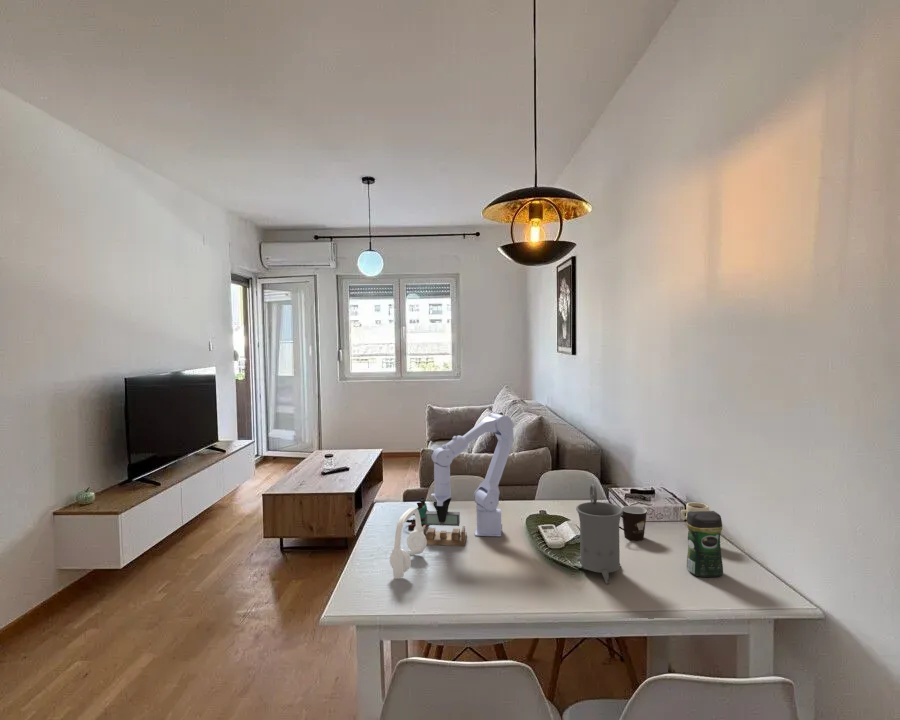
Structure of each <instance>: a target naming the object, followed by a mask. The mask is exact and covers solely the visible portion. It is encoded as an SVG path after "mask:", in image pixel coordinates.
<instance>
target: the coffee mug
mask: <svg viewBox="0 0 900 720" xmlns="http://www.w3.org/2000/svg"><path fill="white" fill-rule="evenodd" d="M620 508H621V509H622V510H623V513H622V515H621V517H620V518H622V526H623V527H622V526H620V525H619V530H620V529H621V530H622V531H623V535H624V538H625V539H626V540H629V541H633V542H639V541H640V542H641V541H643V540H644V538H645V531H646V524H647V523H646V522H647V514H648V510H647V509H646V508H644V507H641V506H637V505H627V506H622V507H620Z"/></svg>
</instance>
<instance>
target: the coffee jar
mask: <svg viewBox="0 0 900 720" xmlns="http://www.w3.org/2000/svg"><path fill="white" fill-rule="evenodd" d="M686 527H687V529H688V531H689V540H688V548H687V555H686V569H687V571H688V572H690V574H691V575H694V576H695V577H696V576H697V577H701V578H703V577H704V578H713V577H714V578H715V577H721V576H722V575H724V564H723V558H722V557H723V556H722V548H721V533H722V531H723V522H722V516H721V515H720V514H719V513H718V512H717V511H715V510H709V511H689V512H688V513H687V520H686Z"/></svg>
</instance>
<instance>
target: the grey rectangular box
mask: <svg viewBox="0 0 900 720" xmlns="http://www.w3.org/2000/svg"><path fill="white" fill-rule="evenodd" d="M425 522H426V525H428V526H443V527H444V526H445V527H446V526H448V527H451V526H452V527H460V523H461V513H460V511H448V512H447V513H446V520H445V522H439V520H438V515H437V511H436V510H435V511H434V510H431V511H430V510H428V511H427V512H426V514H425Z"/></svg>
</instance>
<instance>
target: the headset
mask: <svg viewBox="0 0 900 720" xmlns="http://www.w3.org/2000/svg"><path fill="white" fill-rule="evenodd" d="M416 508H417V507H410V508H408V509H407V510H406V511H404V512H403V514H401V515H400V517H399V519H398V522H397V524H396V529H395V535H394V544H393V545H394V546H393V549H392V550H391V553H390V555H389V564H390V566H391V568H392V576H393V579H394V580H396V579H397V580H398V579H401V578H403V577H404V574H405V573H406V572H408V570H409V569H410V568H411V564H412V559H411V556H414V555H420V554H423V553H424V551H425V549H426V548H427V540H426V537H425V535H424V530H423V527H422V525H421V519H420V514H419V511H418V509H416ZM413 514H414V515H413ZM412 516H414V518H415V521H416V526H415V527H414V528H413V530H412V531H410V532H409V534H408V535H407V540H406V544H407V547H408V549H409V550H408V551H406V549H403V548H401V542H402V541H401V540H402V530H403V525H404V524H405V523H407V522H406V521H407V520H410V518H411V517H412Z"/></svg>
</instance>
